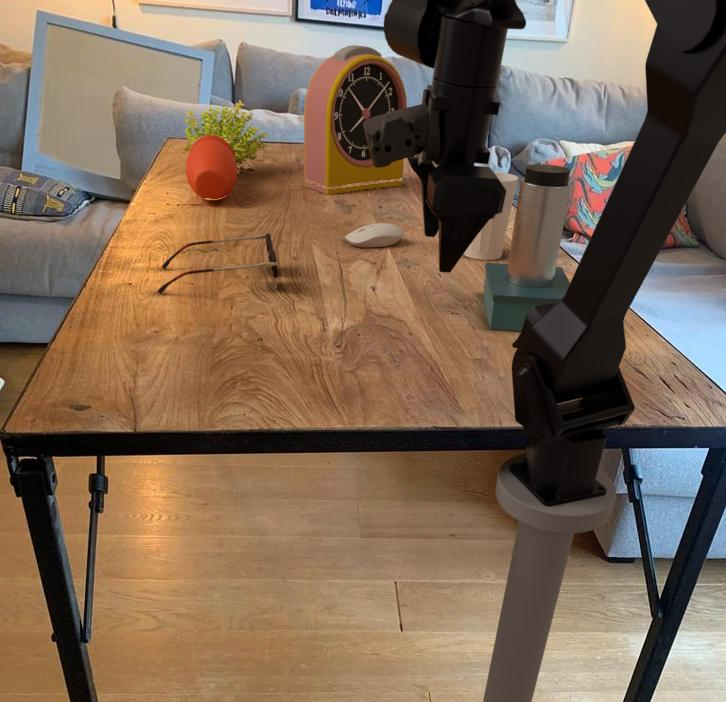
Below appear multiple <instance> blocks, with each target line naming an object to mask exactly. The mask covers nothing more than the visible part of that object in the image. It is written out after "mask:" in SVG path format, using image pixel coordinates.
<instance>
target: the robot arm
mask: <svg viewBox="0 0 726 702" xmlns="http://www.w3.org/2000/svg"><path fill="white" fill-rule="evenodd" d="M644 2H645V4H646V6H647V8H648V9H649V11H650V13H651V15H652V17H653V19H654V21H655V23H656V26H655V30H654V34H653V37H652V40H651V43H650V46H649V50H648V53H647V57H646V60H645V65H644V67H645V68H644V69H645V86H646V87H645V88H646V104H647V105H646V108H647V110H646V114H645V117H644V120H643V122H642V124H641V126H640V129H639V130H638V133H637V135H636V137H635V140H634V141H633V143H632V146H631V149H630V150H629V153H628V155H627V157H626V159H625V162H624V163H623V166H622V168H621V169H620V170H621V171H620V173H619V175H618V177H617V179H616V181H615V183H614V186H613V188H612V189H611V192H610V194H609V197H608V199H607V201H606V203H605V205H604V208H603V210H602V212H601V214H600V216H599V218H598V221H597V223H596V226H595V228H594V229H593V232H592V233H591V236H590V238H589V241H588V242H587V244H586V247H585V249H584V251H583V254H582V256H581V258H580V260H579V263H578V265H577V267H576V269H575V271H574V273H573V275H572V278H571V280H570V281H569V282H570V284H569V287H568V289H567V291H566V293H565V295H564V296H563V298H562V299H561V300H560V301H559V302H555V303H549V304H543V305H538V306H532V307H531V309H530V310H529V312H528V313H527V315H526V317H525V320H524V324H523V328H522V331H520V333H519V335H518V337H517V338H516V339H515V340H514V341H513V342H512V344H511V347H512V348H513V349H515V352H514V354H513V358H512V361H511V379H512V381H511V382H512V383H511V384H512V394H513V396H512V397H513V406H514V407H513V408H514V409H513V410H514V421H515V422H516V423H517V424H519V425H520V426H522V428H523V434H524V435H526V436H527V440H526V446H525V450H524V453H525V455H524V460H525V462H523V463H517V464H512V465H510V468H509V471H510V472H511V473H512V474H513V475H514V476H515V477H516V478H517V479H518V480H519V481H520V482H521V483H522V484H523V485H524V486H525V487H526V488H527V489H528V490H529V491H530V492H531V493H532V494H533V495H534V496H535V497H536V498H537V499H538V500H539V501H540V502H541V503H542V504H543V505H544V506H548V507H551V506H556V505H561V504H565V503H570V502H575V501H580V500H585V499H590V498H595V497H599V496H604V495H606V492H607V489H606V488H605V487H604V486H603V485H602V484H601V483H599V482H598V481H597V480H596V477H597V473H598V469H600V465H601V461H602V457H603V453H604V450H605V445H606V442H607V438H608V436H607V435H606V434H605V433H604V430H605V429H609V428H611V427H616V426H622V425H625V424H626V423H627V421H628V420H629V419H630V417H631V416H632V415H633V413H634V412H635V410H636V407H635V404H634V401H633V398H632V396H631V393H630V391H629V389H628V386H627V384H626V381H625V378H624V376H623V373H622V371H621V368H620V365H621V363H622V360H623V357H624V354H625V351H626V348H627V339H626V329H625V318H626V314H627V313H628V311H629V309H630V307H631V305H632V303H633V302H634V301H635V298H636V296H637V294H638V292H639V291H640V289H641V287H642V286H643V283H644V281H645V279H646V278H647V276H648V274H649V272H650V270H651V268H652V267H653V265H654V263H655V261H656V259H657V257H658V255H659V254H660V252H661V250H662V248H663V247H664V244H665V242H666V240H667V239H668V237H669V235H670V233H671V231H672V230H673V227H674V226H675V224H676V223H677V220H678V219H679V216H680V215H681V213H682V211H683V209H684V208H685V205H686V203H687V202H688V200H689V198H690V196H691V195H692V193H693V191H694V189H695V187H696V185H697V184H698V181H699V179H700V178H701V176H702V174H703V173H704V170H705V169H706V166H707V165H708V163H709V161H710V159H711V157H712V156H713V153H714V152H715V150H716V148H717V146H718V144H719V143H720V141H721V140H722V138H723V137H724V136H725V135H726V0H644ZM526 26H527V20H526V16H525V15H524V13H523V10H521V8H520V7H519V5H518V4H517V1H516V0H391V2H390V3H389V5H388V8H387V11H386V13H385V14H384V18H383V33H384V34H383V35H384V38H385V41H386V43H387V45H388V47H389V48H390V50H391V51H392V52H393V53H395V54H396V55H398V56H400V57H402V58H405V59H407V60H410V61H412V62H415V63H417V64H420V65H421V66H425V67H427V68H431V69H433V74H432V81H431V84H427V85H426V88H424V89H423V92H422V98H421V103H420V104H416V105H413V106H407V108H402V109H399V110H396V111H392V112H389V113H386V114H382V115H379V116H376V117H373V118H370V119H367V120H365V121H364V122H363V126H364V131H365V135H366V139H367V143H368V147H369V152H370V156H371V159H372V162H373V165H374V167H376V168H381V167H386V166H389V165H390V164H391V163H392V162H395V161H398V160H401V159H404V160H405V159H407V162H408V163H409V166H410V168H411V170H412V171H413V172H414V173H415V174H416V176H417V177H418V179H419V180H420V189H421V203H422V204H421V205H422V217H423V218H422V219H423V231H424V233H423V234H424V236H425V237H428V238H435V237H436V236H437V234H438V271H439V272H440V273H448V274H449V273H451V272H452V271H453V270H454V268H455V267H456V266H457V264H458V262H459V261H460V260H461V258H462V257H463V256H464V253H465V251H466V250H467V248H468V247H469V245H470V244H471V243H472V241H473V240H474V239H475V237H476V236H477V235H478V234H479V232H480V231H481V230H482V229H483V227H484V226H485V225H486V224H487V222H488V221H489V220H490V219H493V218H494V217H495V215H496V214H499V213H502V210H503V205H504V200H505V196H506V189H505V188H504V186H503V185H502V183H501V182H500V180H499V179H498V178H497V176H496V175H495V174H494V172H495V171H494V172H493V169H492V168H491V167H490V166H480V164H482V165H489V163H490V158H491V151H490V150H489V148H488V147H487V142H488V137H489V132H490V127H491V122H492V121H491V120H492V116H499V111H500V106H501V102H500V101H499V99H497V97H496V96H497V95H496V94H497V90H498V84H499V78H500V72H501V67H502V62H503V57H504V52H505V46H506V42H507V36H508V31H509V30H524V29H525V28H526ZM475 164H479V165H475Z"/></svg>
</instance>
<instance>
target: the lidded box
mask: <svg viewBox="0 0 726 702" xmlns="http://www.w3.org/2000/svg"><path fill="white" fill-rule="evenodd" d="M507 267H508V263H497V262H485V265H484V270H485V276H484V285H483V292H482V297H483V302H484V307H485V312H486V316H487V322H488V327H489V329H490V330H498V331H499V330H500V331H511V332H513V331H514V332H521V331H522V328H523V324H524V320H525V317H526V315H527V313H528V312H529V310H530V309H531V307H532V306H538V305H543V304H549V303H555V302H559V301H560V300H561V299H562V298H563V296H564V295H565V293H566V291H567V289H568V287H569V284H570V282H571V281H570V280H569V279H568V276H567V274H566V272H565V271H564V269H563V267H561V266H556V269H555V274H554V280H553V284H552V285H550V286H548V287H543V288H530V287H523V286H518V285H515V284H512V283H510V282H509V281H507V280H506V274H507Z"/></svg>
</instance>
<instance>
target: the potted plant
mask: <svg viewBox="0 0 726 702" xmlns="http://www.w3.org/2000/svg"><path fill="white" fill-rule="evenodd" d="M234 105H235V106H233V107H229V105H226V106H225V105H223V106H222V109H221V107H219V106H218V107H215V108H212V104H209V106H208V108H209V110H208V109H206V110H205V111H204V112H203V109H202V111H201V115H200V121H197V118H196V117H195V116H194V115H195V112H192V110H191V109H189V110H188V112H187V111H186V112H185V113H184V114H185V115H187V117H185V118H184V119H185V124H187V125H188V126H187V127H186V128H184V132H185V136H186V137H187V139H188V142H187V144H189V146H188V145H186V146H185V147H183V150H184V152H189V153H188V155H187V159H186V161H185V162H186V164H185V175H186V180H187V183H188V185H189V187H190V189H191V190H192V191H193V192H194V193H196V194H195V195H197V196H198V195H199V196H200V197H199V196H198V197H199V198H201V197H202V198H201V200H205V199H203V198H211V199H218V198H222V197H224V196H226V195H228V194H229V193H230V194H231V193H232V192H233V190H234V189H235V186H236V183H237V178H238V176H237V170H238V169H237V163H238V165H240V164H242V163H243V162H244V163H246V162H247V160H249V161H250V160H251V161H252V160H254V159H255V158H256V157H257V158H258V155H257V153H258V149H265V148H266V147H267V146H268V144H265V143H264V142H262V139H266V137H265V136H267V137H268V136H269V135H268V133H267V132H260V129H259V128H258V126H255V127H254V126H253V125H249V126H248V127H247V129H246V125H248V122H250V120H252V119H253V118H252V116H253V113H250V114H248V113H247V112H246V111H245V110H242V107H245V104H244V103H243V102H242V100H241V99H239V100H238V102H236V103H235V104H234ZM229 108H230V109H229ZM220 109H221V112H220V111H219V110H220ZM241 110H242V111H241ZM233 111H234V112H233ZM219 114H220V116H218V115H219ZM237 115H241V116H237ZM218 119H219V120H218ZM199 122H201V124H200V125H201V128H198V126H199ZM245 129H246V130H245ZM244 130H245V131H244ZM192 131H193V133H194V134H193V133H192ZM243 131H244V133H243ZM258 132H260V134H257V133H258ZM255 135H257V136H256V137H255ZM251 138H252V139H251ZM255 153H256V154H255ZM254 161H255V160H254ZM239 163H240V164H239ZM244 163H243V164H244ZM230 194H229V195H230ZM229 195H228V196H229ZM224 199H225V198H222V199H220V200H216V201H215V202H218V201H222V200H224ZM205 201H207V202H209V201H208V200H205Z"/></svg>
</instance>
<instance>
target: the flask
mask: <svg viewBox="0 0 726 702" xmlns="http://www.w3.org/2000/svg"><path fill="white" fill-rule="evenodd" d="M570 176H571V169H570V168H569V167H565V166H561V165H556V164H544V163H543V164H542V163H537V164H536V163H535V164H528V165H526V167H525V171H524V177H522V178H521V179H520V182H519V188H518V196H517V202H516V207H515V215H514V220H513V221H514V222H513V229H512V234H511V241H510V247H509V253H508V254H509V255H508V262H507V264H508V267H507V274H506V280H507V281H509V282H510V283H512V284H515V285H518V286H523V287H530V288H543V287H548V286H550V285H552V284H553V280H554V274H555V269H556V267H557V264H558V258H559V252H560V247H561V241H562V236H563V232H564V231H563V230H564V226H565V220H566V215H567V209H568V204H569V199H570V194H571V188H572V182H571V181H570Z"/></svg>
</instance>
